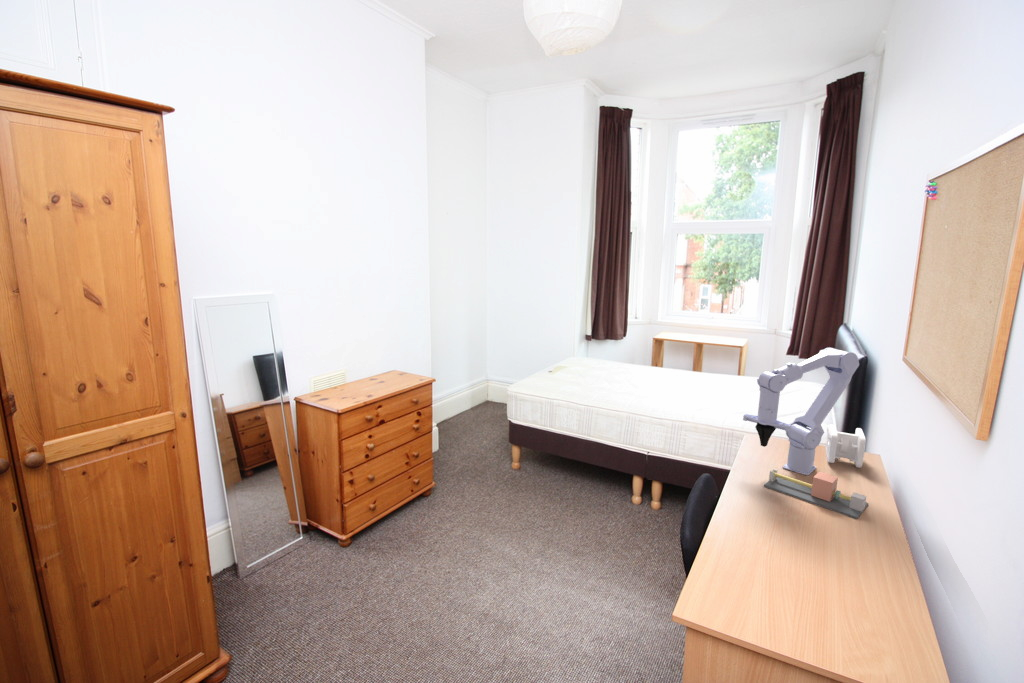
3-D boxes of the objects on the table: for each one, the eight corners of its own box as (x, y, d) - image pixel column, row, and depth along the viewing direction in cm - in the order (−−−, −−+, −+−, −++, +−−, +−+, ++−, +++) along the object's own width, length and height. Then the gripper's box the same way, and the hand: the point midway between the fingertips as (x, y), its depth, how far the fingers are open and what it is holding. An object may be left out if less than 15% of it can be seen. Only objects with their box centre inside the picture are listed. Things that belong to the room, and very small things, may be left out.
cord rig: (777, 475, 158) (778, 463, 157) (867, 504, 139) (870, 491, 138) (763, 486, 150) (764, 473, 149) (857, 519, 131) (859, 504, 130)
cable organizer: (862, 472, 161) (867, 440, 159) (825, 465, 166) (830, 434, 164) (857, 456, 173) (861, 427, 171) (823, 450, 179) (827, 421, 176)
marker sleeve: (816, 489, 146) (819, 471, 145) (835, 495, 142) (838, 477, 141) (810, 495, 142) (813, 476, 141) (829, 501, 139) (832, 482, 138)
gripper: (741, 404, 159) (737, 442, 161) (787, 415, 148) (782, 455, 151) (749, 400, 164) (745, 437, 166) (795, 411, 153) (790, 449, 155)
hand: (763, 445), depth 159 cm, fingers closed
